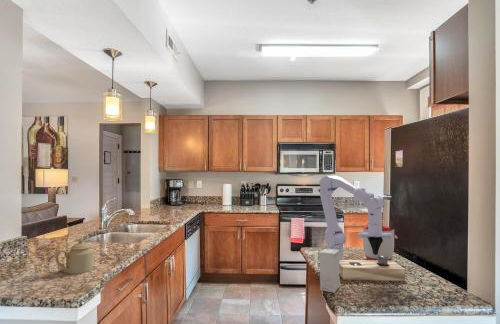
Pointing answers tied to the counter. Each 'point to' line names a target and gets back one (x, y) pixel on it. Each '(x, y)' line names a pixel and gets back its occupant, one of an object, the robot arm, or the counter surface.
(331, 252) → the skincare box
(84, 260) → the olive green teapot
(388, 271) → the maple peg block
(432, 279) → the counter surface
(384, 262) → the steel peg
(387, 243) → the citrus juicer
